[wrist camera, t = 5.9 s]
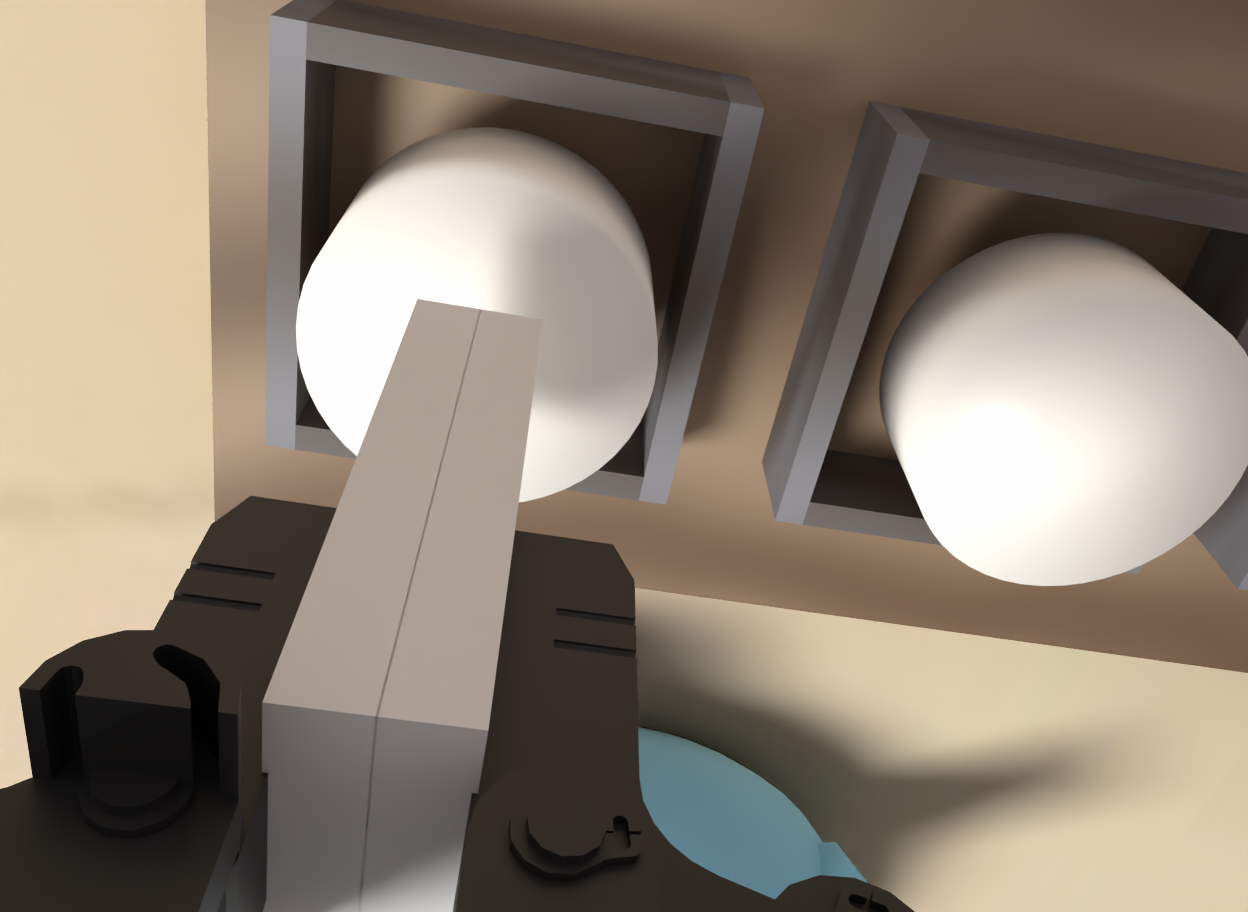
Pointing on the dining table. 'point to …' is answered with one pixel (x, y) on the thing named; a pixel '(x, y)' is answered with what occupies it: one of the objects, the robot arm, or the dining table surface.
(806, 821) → the teapot
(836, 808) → the dining table surface
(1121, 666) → the dining table surface
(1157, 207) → the button board
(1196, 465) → the middle button
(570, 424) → the end button
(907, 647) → the dining table surface
